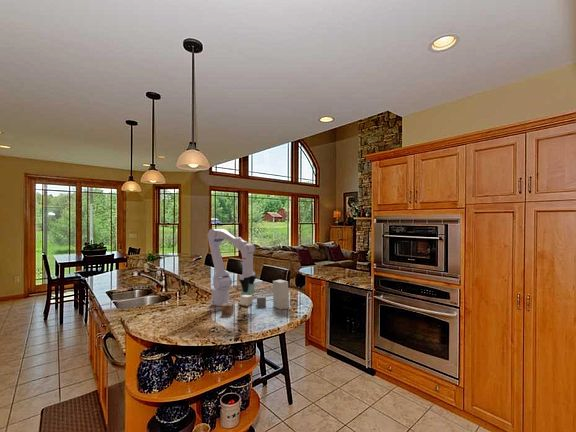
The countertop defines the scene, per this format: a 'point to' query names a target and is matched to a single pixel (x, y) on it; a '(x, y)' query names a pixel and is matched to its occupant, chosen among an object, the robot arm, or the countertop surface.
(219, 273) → the robot arm
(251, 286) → the teal cube
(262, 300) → the charcoal cube
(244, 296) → the offwhite cube
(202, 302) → the countertop surface
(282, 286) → the skincare box
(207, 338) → the countertop surface
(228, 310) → the walnut cube
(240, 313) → the countertop surface
